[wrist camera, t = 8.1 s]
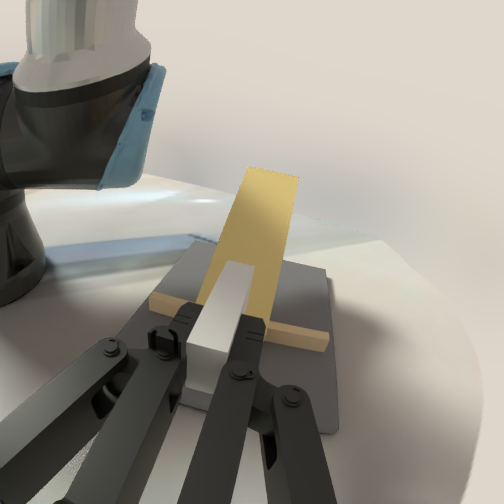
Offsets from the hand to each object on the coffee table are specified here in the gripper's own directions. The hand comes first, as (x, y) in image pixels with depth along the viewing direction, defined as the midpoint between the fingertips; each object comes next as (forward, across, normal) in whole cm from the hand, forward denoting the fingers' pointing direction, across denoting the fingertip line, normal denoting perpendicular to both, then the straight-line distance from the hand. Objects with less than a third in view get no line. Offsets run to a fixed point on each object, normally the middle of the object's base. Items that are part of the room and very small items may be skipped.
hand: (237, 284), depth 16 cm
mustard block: (+2, 0, -6) cm, 6 cm away
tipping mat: (+9, 0, -9) cm, 13 cm away
